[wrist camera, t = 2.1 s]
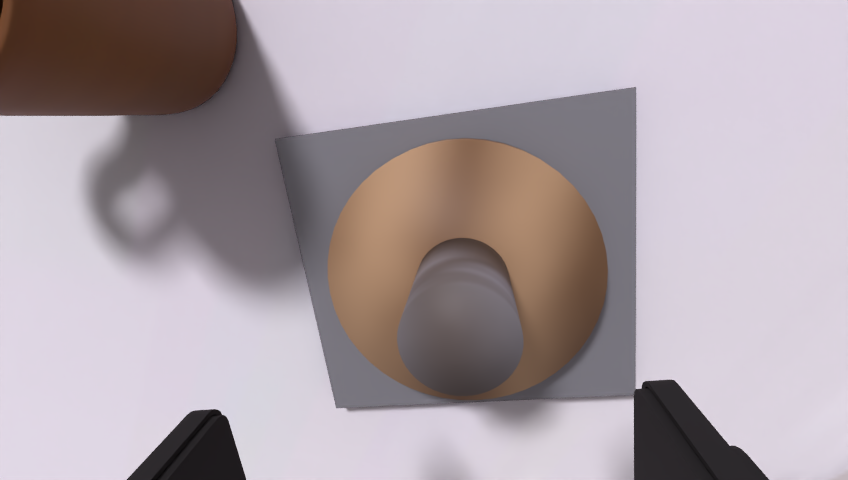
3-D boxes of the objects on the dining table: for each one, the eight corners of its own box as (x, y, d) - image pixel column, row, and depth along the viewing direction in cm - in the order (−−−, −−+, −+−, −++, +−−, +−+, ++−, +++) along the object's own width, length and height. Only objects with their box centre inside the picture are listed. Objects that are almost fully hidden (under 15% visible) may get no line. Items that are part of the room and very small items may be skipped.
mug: (62, 166, 21) (-251, 206, 12) (-26, 6, 19) (-477, -94, 10) (273, 82, 18) (84, 50, 9) (195, -111, 17) (-130, -377, 8)
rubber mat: (628, 88, 17) (635, 86, 16) (629, 384, 21) (635, 394, 20) (282, 137, 19) (274, 139, 18) (340, 398, 23) (336, 408, 22)
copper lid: (596, 118, 17) (664, 121, 11) (602, 378, 20) (657, 489, 14) (312, 157, 18) (236, 177, 12) (360, 390, 22) (318, 493, 16)
